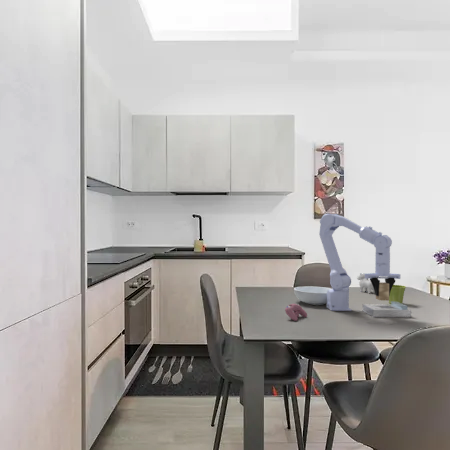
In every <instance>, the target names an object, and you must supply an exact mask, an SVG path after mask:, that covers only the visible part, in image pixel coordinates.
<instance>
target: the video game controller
mask: <svg viewBox="0 0 450 450" xmlns="http://www.w3.org/2000/svg"><path fill="white" fill-rule="evenodd" d="M284 311H285V313H286V315H287V316H288V317H289V318H290V319H291V320H292V321H294V322H297V321H298V318H299V317H300V316H302V317H303V318H307V317H308V313H307V311H305V309H304V308H303V307H302V306H301V305H300V304H299V303H290V304H288V305H287V306H286V307H285V309H284Z"/></svg>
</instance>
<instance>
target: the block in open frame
mask: <svg viewBox="0 0 450 450" xmlns="http://www.w3.org/2000/svg"><path fill="white" fill-rule="evenodd" d="M361 309H362V312H364V313H365V314H367V315H369V316H371V317H373V318H411V317H412V309H409V307H408V305H407V304H403V303H399V302H397V301H391V304H390V303H388V304H387V303H383V304H382V303H378V304H377V303H375V304H374V303H362V308H361Z"/></svg>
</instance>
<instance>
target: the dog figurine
mask: <svg viewBox="0 0 450 450" xmlns="http://www.w3.org/2000/svg"><path fill="white" fill-rule="evenodd" d="M365 274H366V273H359V275H357V277H356V279H357V280H358V281H359V282H358V283H359V284H358V285H359V287H360V290H359V293H363V290H364V292H365V291H367V294H368V293H370V294H371V291H372V294H375V291H374V288H373V285H372V283H371V281H370V278H369V279H366V278H365Z"/></svg>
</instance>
